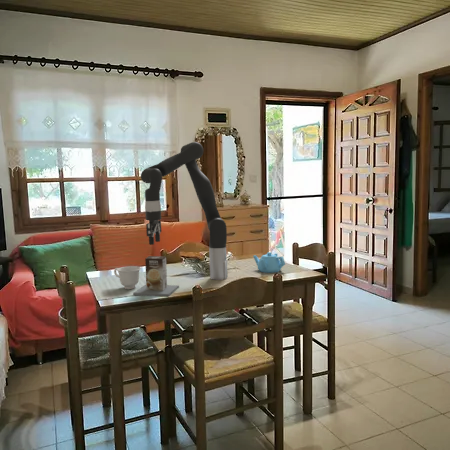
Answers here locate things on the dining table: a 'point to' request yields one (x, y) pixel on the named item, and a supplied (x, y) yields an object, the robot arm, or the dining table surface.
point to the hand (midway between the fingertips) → (154, 243)
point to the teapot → (269, 263)
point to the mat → (166, 292)
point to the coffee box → (156, 273)
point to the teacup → (128, 276)
